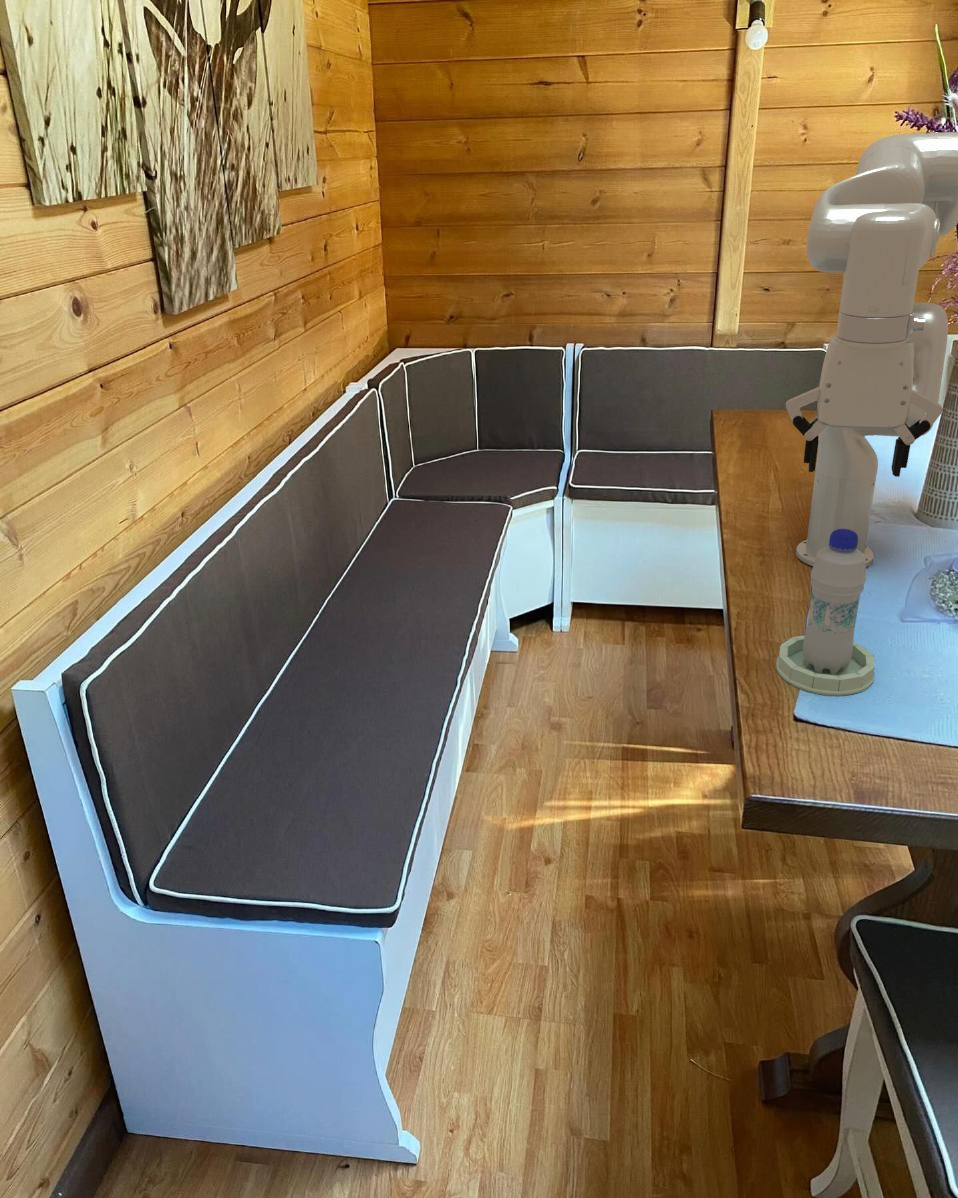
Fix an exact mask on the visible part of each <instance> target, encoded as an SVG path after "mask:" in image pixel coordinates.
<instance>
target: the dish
mask: <svg viewBox="0 0 958 1198" xmlns="http://www.w3.org/2000/svg"><path fill="white" fill-rule="evenodd" d="M804 637H805V634H804V635H799V636H792V637H791V638H789V639H788V640H786V641H785V642H783V643H782V644H780V646H779V655H778V657H777V658H776V662H775V670H776V672H777V674H778V675H779V677H780V678H781V679H782V680H784V681H785V682H786V683H788V684H790V685H791V686H793V687H795V688H797V689H799V690H802V691H805V692H808V693H811V694H816V695H820V696H827V697H828V696H829V697H845V696H853V695H856V694H860V693H863V692H865V691H866V690H868V689H869V688H870V687H871V686H872V684H873V683H874V680H875V667H876V666H875V659H874V655H873V654H872V653H871V652H870V651H869V650H867V649H866V648H865V647H864V646H862V645H861V644H860V643H858V642H855V641H853V651H852V657H851V661H850V664H849V666H848V667H847V669H846V670H844V671H842V672H840V671H838V672H837V673H836V674H835V675H830V673H829V669H826V668H825V669H823V670H822V673H817V672H816V671H815V669H814V666H813V668H808V667H807V666H806V665H805V663H804V659H803V652H802V651H803V642H804Z"/></svg>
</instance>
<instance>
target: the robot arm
mask: <svg viewBox="0 0 958 1198" xmlns="http://www.w3.org/2000/svg"><path fill="white" fill-rule="evenodd" d="M855 173H856V174H855V175H853V176H852V177H849V178H846V179H844V180H841V181H839V182H837V183H835V184H832V185H831V186H830V187H828V188H827V189H825V190H824V191H823V192H822V193H821V195H820V196H819V198H818V199H817V201H816V203H815V205H814V209H813V211H812V214H811V219H810V223H809V227H808V231H807V237H806V255H807V259H808V262H809V264H810V266H811V267H812V268H813V269H814V270H816V271H817V272H821V273H829V274H830V273H831V274H839V273H841V274H842V273H843V278H842V279H843V281H842V289H841V296H840V303H839V310H838V311H839V312H838V317H837V319H838V320H837V327H836V334H835V335H836V336H833V337H831V338H830V339H829V342H828V345H827V347H826V352H825V356H824V359H823V364H822V368H821V374H820V380H819V385H818V386H817V387H815V388H813V389H811V390H807V391H806V392H803V393H801V394H799V395H797V396H796V395H795V396H794V397H791V398H790V399H787V401H786V402H785V409H786V410H787V413H788V415H789V418H790V420H791V421H792V425H793V426H794V427H795V428H796V429H797V431H799V433H800V434H801V435H802V436H803V437H804V439H805V446H804V454H803V463H804V464H808V473H814V472H815V473H814V481H813V490H812V495H811V497H812V498H811V504H810V512H809V513H810V514H809V521H808V528H807V529H808V530H807V536H806V537H807V538H806V539H805V540H802V541H801V542H800V543H798V545H796V552H795V554H796V557H797V558H798V559H799V560H800V561H801V562H802V563H805V564H806V565H808V566H811V567H813V566H814V562H815V559H816V555H817V552H818V551H819V550H820V549H822V548H824V547H828V546H829V540H830V535H831V533H832V532H833V531H834V530H837V529H849V530H852V531H854V532H855V533H856V534H857V536H858V544H857V548H856V549H857V550H859V551H861V552H862V553H863V554H864V555H865V557H866V568H867V567H869V566H871V565H872V564H873V562H874V558H875V553H874V552H873V550H872V549H871V548H870V547H868V546H867V545H866V544H867V538H868V533H869V526H870V524H869V523H870V519H871V513H872V505H873V501H874V495H875V488H876V483H877V482H876V480H877V474H878V469H879V460H878V455H877V452H876V451H875V449H874V448H873V446H872V445H871V443H870V442H869V441H868V440H867V438H866V436H872V437H873V436H881V437H897V438H896V439H895V444H894V450H893V457H892V461H891V473H892V476H894V477H896V478H897V477H898V478H899V477H900V476H901V471H902V470H901V469H907V467H908V461H909V455H910V450H911V445H913V444H914V443H915V441H916V440H917V439H919V438H921V437H922V436H925V435H927V434H928V433H929V432H930V431H931V430H932V428H933V426H934V424H935V422H936V421H937V420H938V419H939V417H940V416H941V414H943V407H942V405H941V404H940V402H939V400H940V394H941V387H942V379H943V372H944V365H945V360H946V351H947V345H948V336H949V335H948V334H949V320H948V315H947V312H946V311H945V309H944V308H943V307H942V306H940V305H938V304H937V303H936V304H935V303H931V302H915V295H916V292H917V291H916V290H917V285H918V278H919V274H920V273H919V272H920V269H921V268H923V267H924V266H925V265H926V264H927V263H928V261H929V259H930V258H932V257H933V256H934V254H935V252H936V250H937V248H938V243H939V241H940V240H939V239H940V237H943V236H946V235H948V234H949V233H951V232H952V231H953V230H954V229H955V228H956V227H957V225H958V131H957V132H956V131H949V132H948V131H945V132H944V131H943V132H929V133H928V132H927V133H926V132H925V133H924V132H923V133H909V134H907V133H906V134H894V135H893V134H892V135H889V136H885V137H883V138H880V139H877V140H876V141H874V142H873V143H871V144H870V145H869V146H868V147H867V148H866V149H865V150H864V151H863V153H862V155H860V159H859V160H858V164H857V167H856V172H855ZM814 402H816V408H815V410H816V416H815V418H814V419H812V420H811V421H810V422H809V421H808V419H806V418H805V416H804V415H803V414H802V411H801V408H802V407H805V406H807V405H809V404H813V403H814Z"/></svg>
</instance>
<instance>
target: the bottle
mask: <svg viewBox="0 0 958 1198" xmlns="http://www.w3.org/2000/svg"><path fill="white" fill-rule="evenodd" d="M857 544H858V536H857V534H856V533H855V532H854V531H852V530H849V529H837V530H834V531H833V532H832V533H831V535H830V540H829V546H828V547H824V548H822V549H820V550H819V551H818V552H817V555H816V559H815V562H814V566H812V569H811V572H810V576H811V577H810V578H811V580H810V582H809V583H810V586H811V588H812V590H811V595H810V603H809V604H810V605H809V610H808V618H807V624H806V629H805V632H804V633H805V634H804V635H805V637H804V642H803V651H802V652H803V659H804V663H805V665H806V666H807V667H808V668H813V666H814V669H815V671H816V672H817V673H822V670H823V669H825V668H826V669H829V673H830V675H835V674H836V673H837V672H838V671H840V672H842V671H844V670H846V669H847V667H848V666H849V664H850V661H851V657H852V651H853V642H854V637H855V636H854V635H855V628H856V621H857V616H858V609H859V605H860V595H861V594H862V592H864V589H865V586H864V585H865V583H866V581H867V579H866V578H867V576H866V574H867V573H866V571H867V570H866V569H867V567H866V557H865V555H864V554H863V553H862V552H861V551H859V550H857V549H856V548H857Z"/></svg>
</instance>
